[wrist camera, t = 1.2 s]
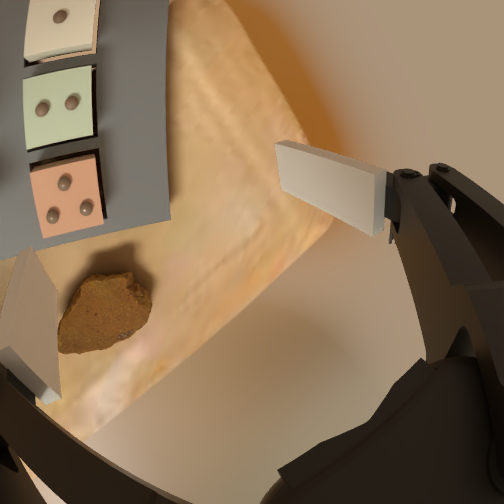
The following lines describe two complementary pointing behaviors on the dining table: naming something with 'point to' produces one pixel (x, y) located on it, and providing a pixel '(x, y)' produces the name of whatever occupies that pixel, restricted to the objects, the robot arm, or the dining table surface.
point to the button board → (108, 122)
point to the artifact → (103, 313)
